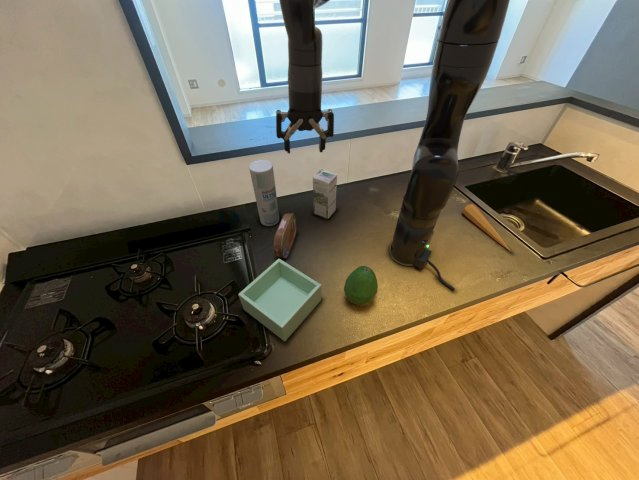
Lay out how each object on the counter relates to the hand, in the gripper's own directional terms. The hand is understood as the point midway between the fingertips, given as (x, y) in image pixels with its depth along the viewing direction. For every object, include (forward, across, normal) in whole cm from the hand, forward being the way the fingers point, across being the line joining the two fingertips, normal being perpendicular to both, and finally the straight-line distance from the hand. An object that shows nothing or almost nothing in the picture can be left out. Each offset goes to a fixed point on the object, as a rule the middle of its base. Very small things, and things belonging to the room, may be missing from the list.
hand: (304, 151), depth 74 cm
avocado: (+23, +10, -32) cm, 41 cm away
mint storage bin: (+24, -9, -31) cm, 40 cm away
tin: (+25, -6, -11) cm, 28 cm away
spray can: (+25, -11, +1) cm, 28 cm away
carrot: (+22, +56, -14) cm, 61 cm away
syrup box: (+24, +7, +3) cm, 26 cm away
